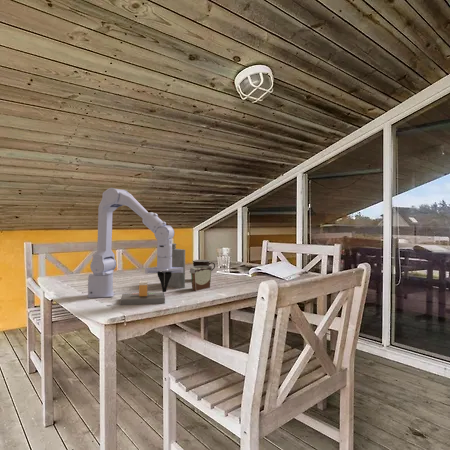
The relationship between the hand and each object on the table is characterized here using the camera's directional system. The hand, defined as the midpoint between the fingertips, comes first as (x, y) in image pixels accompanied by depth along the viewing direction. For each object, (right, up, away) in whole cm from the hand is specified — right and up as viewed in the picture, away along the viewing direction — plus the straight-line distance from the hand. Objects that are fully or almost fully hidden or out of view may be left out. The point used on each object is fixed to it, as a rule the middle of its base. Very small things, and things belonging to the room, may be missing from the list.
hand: (164, 291), depth 136 cm
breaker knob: (-8, -1, -2) cm, 8 cm away
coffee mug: (+13, -3, +46) cm, 48 cm away
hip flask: (-1, -3, +29) cm, 30 cm away
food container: (+11, -3, +23) cm, 26 cm away
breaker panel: (-8, -3, -2) cm, 9 cm away
